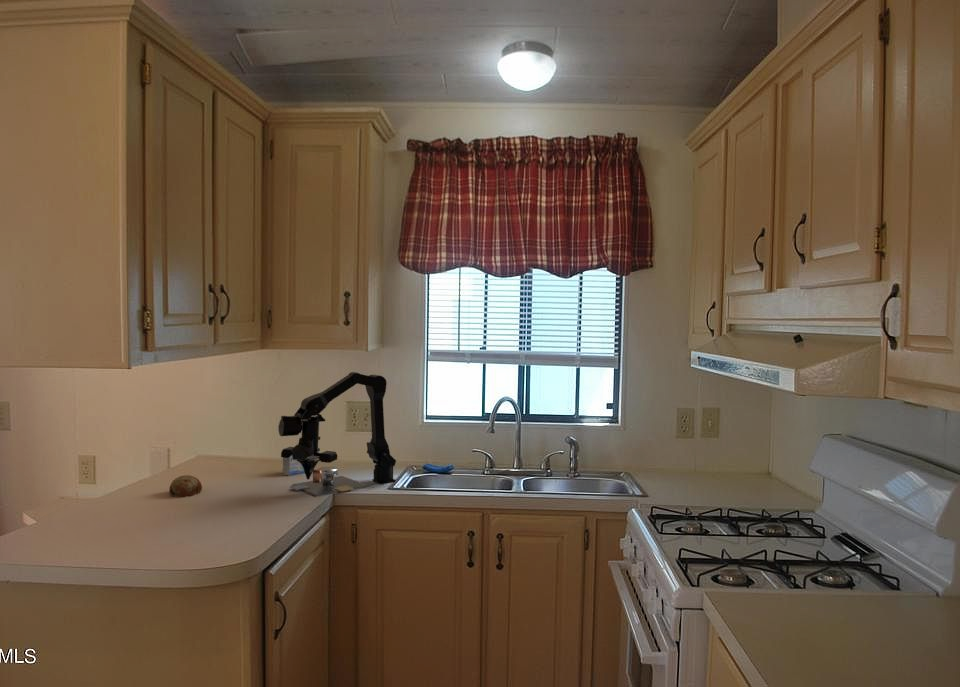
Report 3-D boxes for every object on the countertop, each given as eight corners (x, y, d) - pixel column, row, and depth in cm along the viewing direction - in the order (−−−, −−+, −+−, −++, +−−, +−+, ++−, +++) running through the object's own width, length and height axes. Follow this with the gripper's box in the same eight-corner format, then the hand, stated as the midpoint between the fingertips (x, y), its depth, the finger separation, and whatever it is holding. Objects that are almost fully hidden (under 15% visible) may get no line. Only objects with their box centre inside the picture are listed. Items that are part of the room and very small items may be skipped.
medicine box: (289, 476, 234) (289, 453, 234) (282, 474, 237) (282, 452, 237) (306, 472, 241) (306, 450, 240) (299, 470, 243) (299, 449, 243)
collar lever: (322, 471, 227) (322, 460, 227) (340, 472, 226) (340, 461, 226) (305, 482, 211) (305, 470, 211) (325, 483, 210) (325, 471, 210)
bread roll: (167, 504, 209) (158, 485, 206) (191, 485, 217) (183, 466, 214) (187, 508, 204) (177, 489, 201) (210, 488, 212) (202, 470, 209)
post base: (341, 477, 234) (341, 468, 234) (369, 487, 219) (369, 478, 219) (285, 487, 219) (285, 477, 218) (311, 499, 204) (311, 488, 204)
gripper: (272, 435, 206) (271, 481, 207) (323, 441, 202) (321, 488, 203) (290, 430, 217) (288, 474, 218) (339, 435, 213) (336, 480, 213)
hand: (308, 479), depth 213 cm, fingers closed
